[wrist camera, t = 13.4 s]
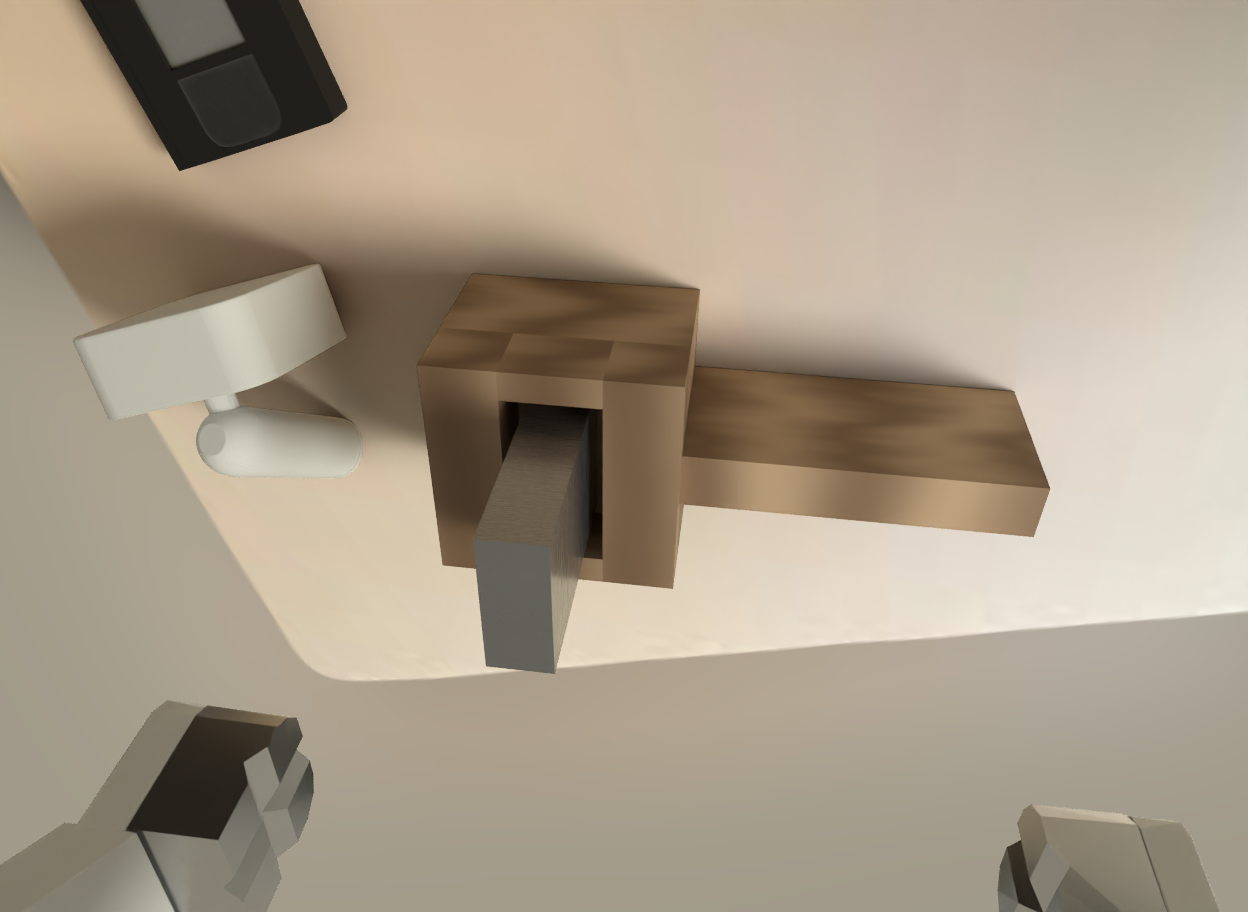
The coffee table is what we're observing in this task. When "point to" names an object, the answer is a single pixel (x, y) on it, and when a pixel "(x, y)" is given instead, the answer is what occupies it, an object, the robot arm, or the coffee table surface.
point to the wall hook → (230, 372)
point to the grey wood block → (536, 536)
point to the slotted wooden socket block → (701, 427)
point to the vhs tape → (220, 71)
